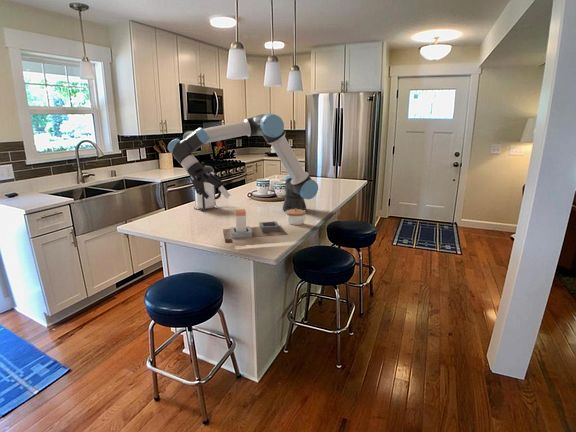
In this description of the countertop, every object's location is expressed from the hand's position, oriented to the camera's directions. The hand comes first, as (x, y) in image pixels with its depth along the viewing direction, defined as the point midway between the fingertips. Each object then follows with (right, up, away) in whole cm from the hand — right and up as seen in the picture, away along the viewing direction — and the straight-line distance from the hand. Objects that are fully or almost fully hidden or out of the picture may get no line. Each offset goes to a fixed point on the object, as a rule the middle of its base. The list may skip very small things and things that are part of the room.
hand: (221, 199), depth 161 cm
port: (+9, -17, +1) cm, 19 cm away
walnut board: (+15, -17, +6) cm, 24 cm away
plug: (+9, -17, +1) cm, 19 cm away
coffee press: (-20, -3, +57) cm, 60 cm away
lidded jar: (+36, -13, +22) cm, 44 cm away
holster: (+23, -14, +10) cm, 29 cm away
